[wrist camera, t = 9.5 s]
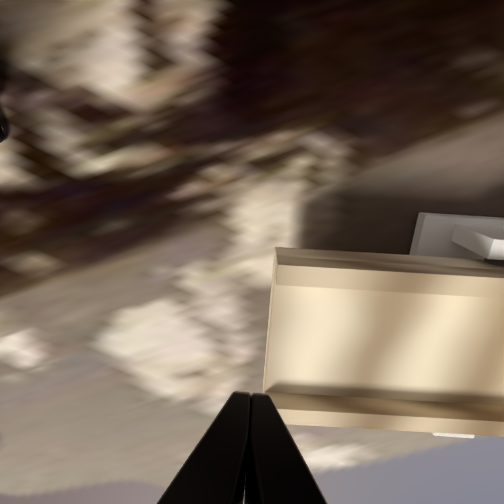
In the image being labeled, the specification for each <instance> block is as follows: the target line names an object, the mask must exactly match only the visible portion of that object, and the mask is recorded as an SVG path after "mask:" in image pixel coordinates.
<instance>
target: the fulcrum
mask: <svg viewBox="0 0 504 504" xmlns="http://www.w3.org/2000/svg"><path fill="white" fill-rule="evenodd" d="M409 255H415V256H432V257H449V258H465V259H482V260H484V259H485V258H487V259H495V260H504V218H501V217H485V216H470V215H454V214H438V213H422V212H419V214H418V218H417V223H416V227H415V232H414V236H413V241H412V245H411V249H410V254H409ZM432 434H433V435H434V436H449V437H463V438H474V436H475V435H468V434H451V433H433V432H432Z"/></svg>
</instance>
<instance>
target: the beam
mask: <svg viewBox="0 0 504 504" xmlns="http://www.w3.org/2000/svg"><path fill="white" fill-rule="evenodd" d="M263 394H268V395H270V397H271V399H272V401H273V402H274V404H275V406H276V408H277V410H278V412H279V414H280V415H281V417H282V419H283V421H284V423H285V424H294V425H311V426H328V427H346V428H363V429H381V430H398V431H416V432H433V433H451V434H468V435H486V436H503V437H504V260H495V259H487V258H485V259H484V260H482V259H465V258H449V257H432V256H415V255H399V254H382V253H366V252H349V251H332V250H316V249H299V248H282V247H275V251H274V262H273V274H272V286H271V298H270V310H269V321H268V333H267V345H266V357H265V368H264V380H263Z"/></svg>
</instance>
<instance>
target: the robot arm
mask: <svg viewBox="0 0 504 504" xmlns="http://www.w3.org/2000/svg"><path fill="white" fill-rule="evenodd" d="M3 140H4V134H3V131H2V128H1V126H0V143H1V142H2V141H3ZM244 489H245V493H244ZM243 500H244V504H327V502H326V500H325V498H324V496H323V494H322V492H321V490H320V489H319V487H318V485H317V483H316V481H315V479H314V477H313V475H312V474H311V472H310V470H309V468H308V466H307V464H306V462H305V460H304V459H303V457H302V455H301V453H300V451H299V449H298V447H297V445H296V444H295V442H294V440H293V438H292V436H291V434H290V432H289V430H288V429H287V427H286V425H285V423H284V421H283V419H282V417H281V415H280V414H279V412H278V410H277V408H276V406H275V404H274V402H273V401H272V399H271V397H270V395H268V394H263V393H253V394H252V395H251V394H250V393H249V392H239V391H235V392H233V393H232V394H231V396H230V397H229V399H228V400H227V402H226V403H225V405H224V406H223V407H222V409H221V410H220V412H219V413H218V415H217V416H216V418H215V419H214V421H213V422H212V424H211V425H210V426H209V428H208V429H207V431H206V432H205V434H204V435H203V437H202V438H201V440H200V441H199V443H198V444H197V445H196V447H195V448H194V450H193V451H192V453H191V454H190V456H189V457H188V459H187V460H186V462H185V463H184V464H183V466H182V467H181V469H180V470H179V472H178V473H177V475H176V476H175V478H174V479H173V481H172V482H171V483H170V485H169V486H168V488H167V489H166V491H165V492H164V494H163V495H162V497H161V498H160V500H159V501H158V503H157V504H243Z"/></svg>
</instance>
